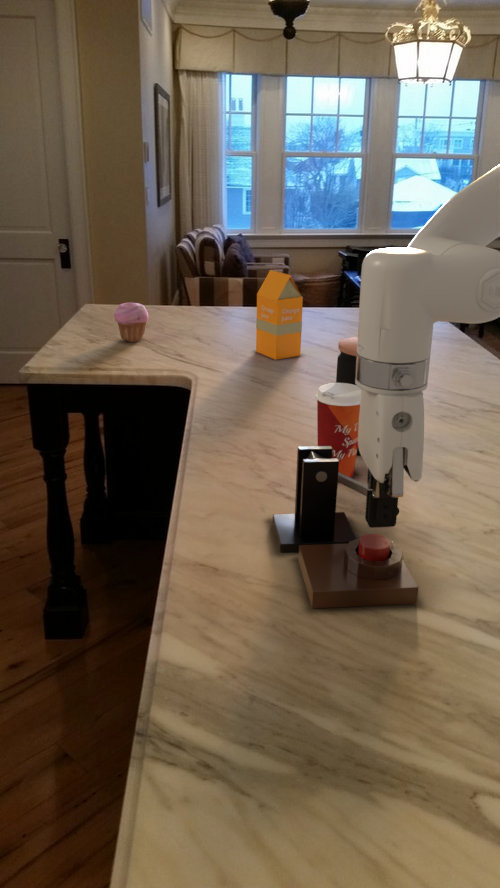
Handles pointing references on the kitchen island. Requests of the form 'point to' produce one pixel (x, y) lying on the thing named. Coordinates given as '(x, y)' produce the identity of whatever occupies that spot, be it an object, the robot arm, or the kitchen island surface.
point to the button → (374, 547)
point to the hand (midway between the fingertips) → (380, 523)
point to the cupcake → (131, 321)
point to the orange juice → (279, 317)
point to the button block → (355, 577)
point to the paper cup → (339, 422)
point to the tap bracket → (314, 505)
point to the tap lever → (346, 479)
